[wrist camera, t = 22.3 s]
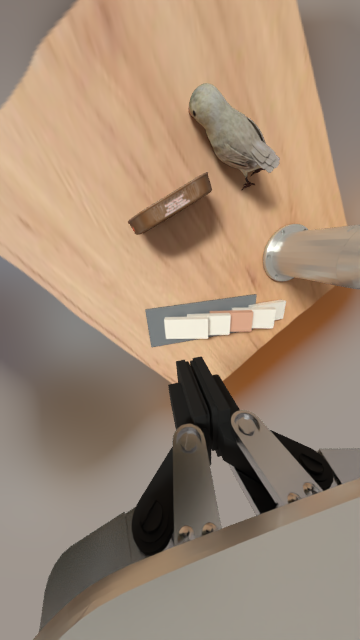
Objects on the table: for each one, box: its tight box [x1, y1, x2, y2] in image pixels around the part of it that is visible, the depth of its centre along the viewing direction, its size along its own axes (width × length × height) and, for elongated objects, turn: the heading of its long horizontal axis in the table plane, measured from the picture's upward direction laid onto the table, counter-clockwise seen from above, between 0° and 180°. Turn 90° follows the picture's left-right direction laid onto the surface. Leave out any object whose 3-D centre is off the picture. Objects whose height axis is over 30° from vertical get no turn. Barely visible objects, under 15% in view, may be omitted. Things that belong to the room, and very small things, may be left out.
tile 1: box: [164, 316, 208, 339], centre depth 40 cm, size 2×5×10 cm
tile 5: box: [248, 300, 286, 320], centre depth 45 cm, size 2×5×10 cm
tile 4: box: [232, 307, 277, 328], centre depth 42 cm, size 2×5×10 cm
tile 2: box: [187, 313, 231, 335], centre depth 41 cm, size 2×5×10 cm
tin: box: [128, 172, 212, 235], centre depth 29 cm, size 15×3×8 cm, turn 118°
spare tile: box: [210, 310, 254, 332], centre depth 42 cm, size 2×5×10 cm
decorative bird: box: [188, 83, 280, 191], centre depth 27 cm, size 5×16×8 cm, turn 56°
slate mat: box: [145, 294, 256, 347], centre depth 43 cm, size 28×10×1 cm, turn 94°
